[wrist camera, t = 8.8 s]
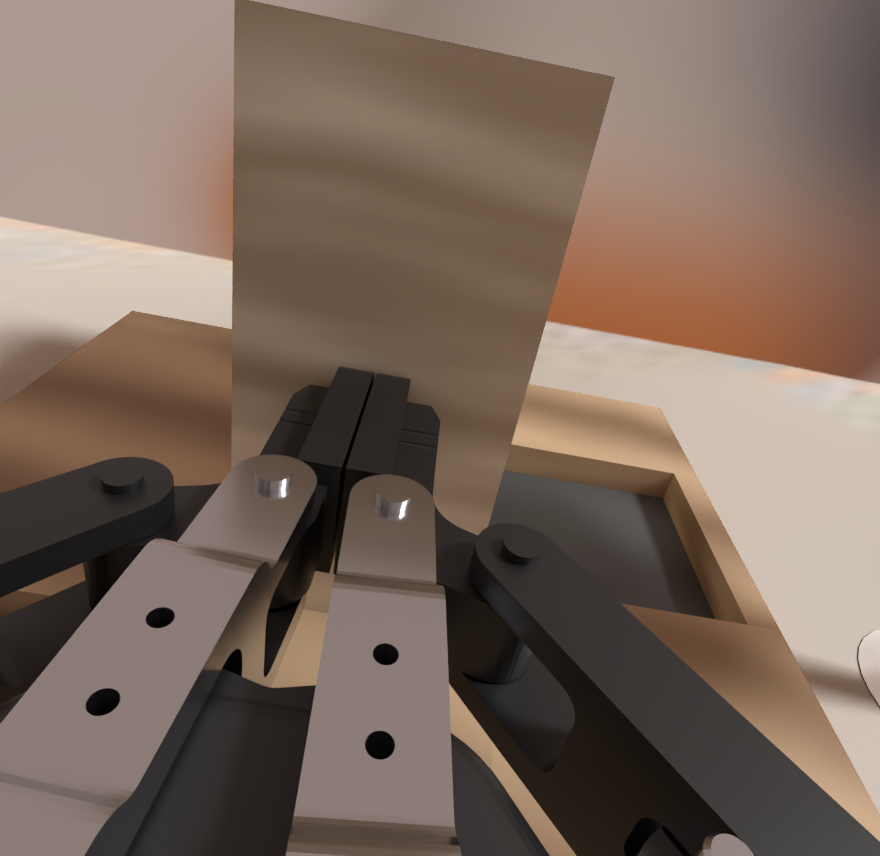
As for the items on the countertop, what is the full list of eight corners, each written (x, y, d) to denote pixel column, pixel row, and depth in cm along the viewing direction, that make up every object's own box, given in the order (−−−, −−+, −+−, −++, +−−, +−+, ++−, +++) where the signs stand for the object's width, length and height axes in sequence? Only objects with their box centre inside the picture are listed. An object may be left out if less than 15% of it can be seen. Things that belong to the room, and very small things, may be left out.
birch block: (457, 634, 16) (614, 77, 10) (230, 597, 16) (234, -3, 9) (465, 392, 28) (537, 70, 22) (335, 368, 28) (369, 35, 22)
